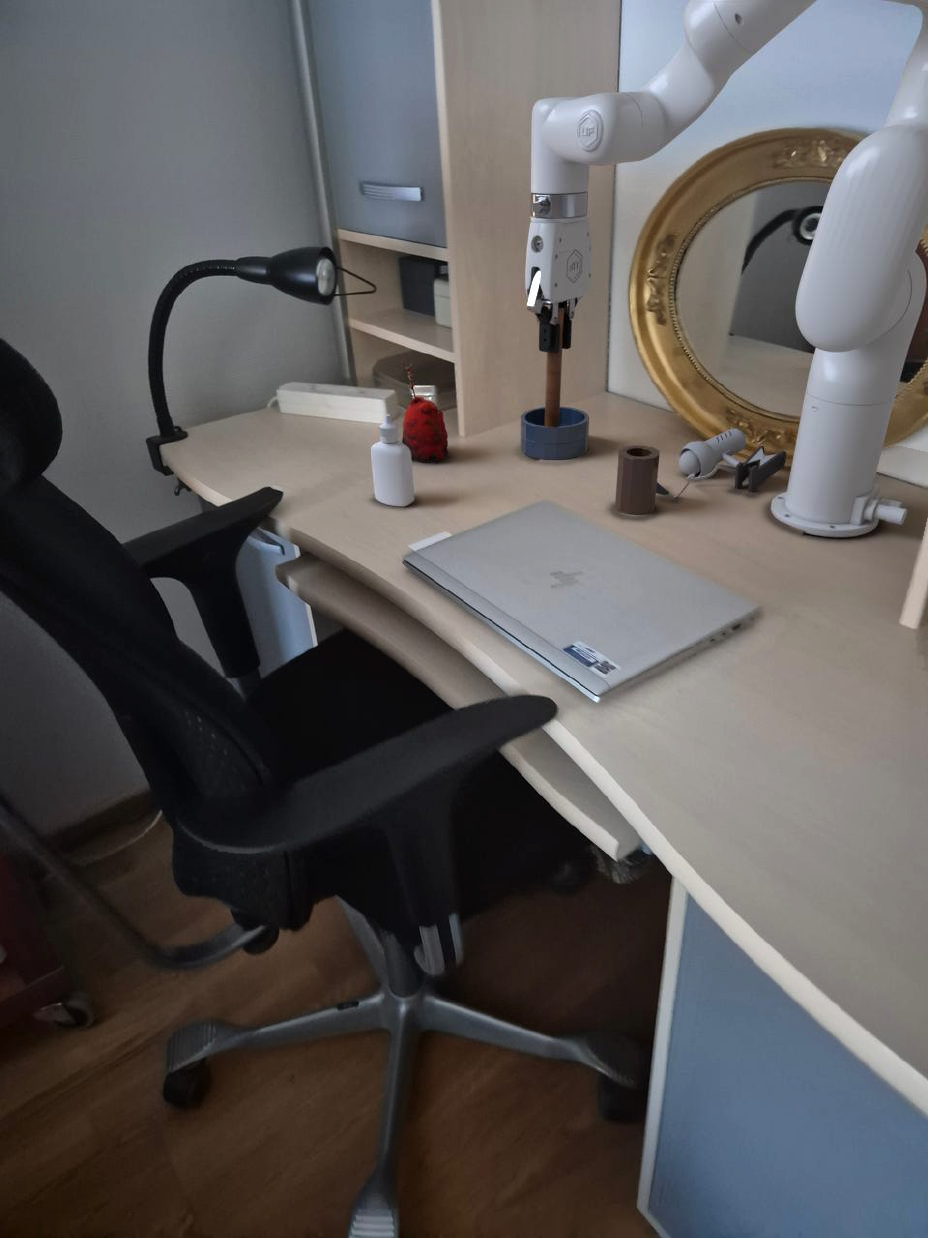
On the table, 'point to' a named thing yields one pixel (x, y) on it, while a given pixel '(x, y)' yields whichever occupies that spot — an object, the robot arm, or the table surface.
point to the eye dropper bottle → (392, 467)
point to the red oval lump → (424, 428)
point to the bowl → (554, 434)
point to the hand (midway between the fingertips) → (554, 348)
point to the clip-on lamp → (727, 460)
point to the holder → (636, 479)
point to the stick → (554, 380)
